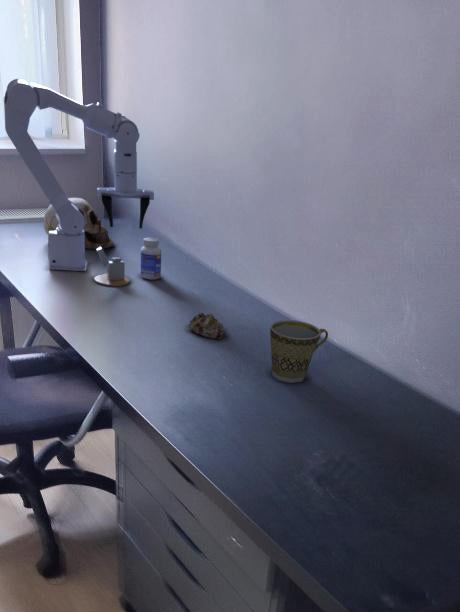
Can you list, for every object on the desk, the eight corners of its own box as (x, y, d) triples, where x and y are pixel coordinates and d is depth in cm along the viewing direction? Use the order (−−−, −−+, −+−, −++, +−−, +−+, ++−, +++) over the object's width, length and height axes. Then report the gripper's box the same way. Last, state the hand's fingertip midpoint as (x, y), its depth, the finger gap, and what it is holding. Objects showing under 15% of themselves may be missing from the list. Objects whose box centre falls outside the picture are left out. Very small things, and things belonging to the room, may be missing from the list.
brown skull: (119, 245, 211) (114, 197, 202) (70, 259, 201) (62, 210, 193) (88, 234, 220) (82, 188, 211) (40, 247, 210) (31, 199, 202)
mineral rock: (179, 315, 161) (209, 303, 163) (182, 332, 164) (212, 320, 166) (202, 334, 154) (233, 320, 156) (205, 351, 157) (236, 338, 159)
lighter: (122, 277, 186) (122, 245, 182) (124, 279, 185) (124, 247, 180) (96, 278, 183) (95, 246, 179) (98, 280, 182) (97, 248, 178)
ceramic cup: (280, 389, 139) (287, 340, 134) (255, 369, 146) (261, 322, 141) (334, 381, 145) (343, 334, 139) (308, 362, 152) (315, 316, 146)
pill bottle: (159, 280, 188) (160, 242, 182) (139, 278, 188) (139, 240, 182) (161, 274, 192) (162, 237, 187) (141, 272, 192) (142, 235, 187)
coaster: (93, 285, 180) (93, 283, 180) (95, 274, 187) (95, 272, 187) (129, 287, 181) (129, 285, 181) (129, 276, 189) (129, 274, 188)
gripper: (96, 172, 178) (98, 229, 185) (154, 176, 179) (153, 232, 187) (97, 167, 183) (98, 222, 191) (153, 170, 185) (153, 225, 193)
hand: (126, 226), depth 190 cm, fingers open, 7 cm apart
